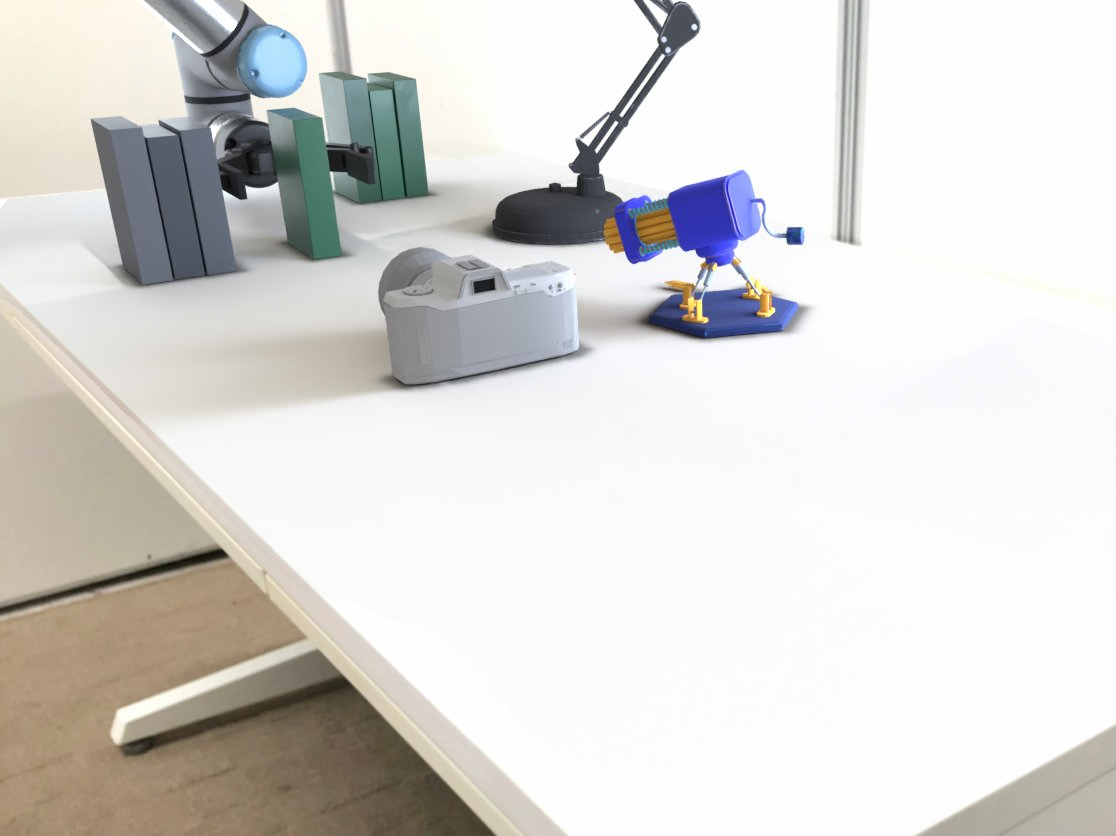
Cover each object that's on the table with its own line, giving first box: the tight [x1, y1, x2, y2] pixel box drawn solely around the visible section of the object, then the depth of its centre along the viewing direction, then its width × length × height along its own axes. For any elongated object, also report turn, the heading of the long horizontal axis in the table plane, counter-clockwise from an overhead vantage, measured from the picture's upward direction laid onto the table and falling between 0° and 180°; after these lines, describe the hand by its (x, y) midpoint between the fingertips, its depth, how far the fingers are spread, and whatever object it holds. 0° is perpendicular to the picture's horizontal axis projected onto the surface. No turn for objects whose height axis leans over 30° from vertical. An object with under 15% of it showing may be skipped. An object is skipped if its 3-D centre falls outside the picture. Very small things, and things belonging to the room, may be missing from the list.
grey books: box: [90, 115, 238, 286], centre depth 130 cm, size 9×9×15 cm
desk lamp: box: [491, 0, 702, 245], centre depth 139 cm, size 24×26×45 cm
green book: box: [265, 107, 343, 260], centre depth 137 cm, size 9×3×14 cm, turn 34°
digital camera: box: [377, 246, 580, 385], centre depth 107 cm, size 17×14×10 cm
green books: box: [318, 71, 429, 204], centre depth 164 cm, size 9×9×14 cm
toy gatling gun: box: [604, 169, 805, 339], centre depth 116 cm, size 14×18×13 cm
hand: (307, 178), depth 136 cm, fingers open, 13 cm apart
